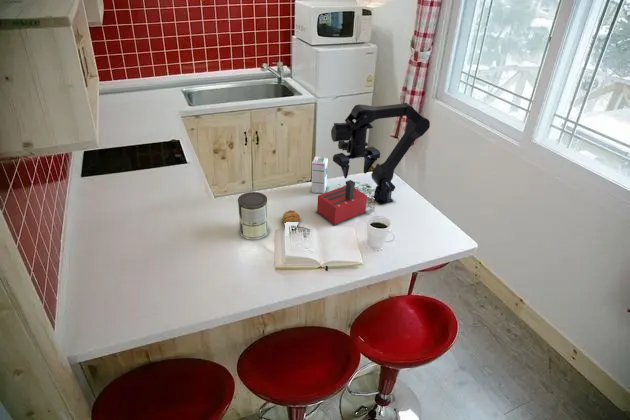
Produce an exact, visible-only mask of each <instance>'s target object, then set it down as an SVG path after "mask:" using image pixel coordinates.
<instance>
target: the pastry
mask: <svg viewBox="0 0 630 420" xmlns="http://www.w3.org/2000/svg"><path fill="white" fill-rule="evenodd" d="M300 217H301V216H300V214H299V213H298V212H297V211H296V210H294V209H290V210H287V211H285V212H284V213H283V214H282V217H281V221H282V224H284V223H286V222H299V223H301V219H300Z"/></svg>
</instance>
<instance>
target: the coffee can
mask: <svg viewBox="0 0 630 420" xmlns="http://www.w3.org/2000/svg"><path fill="white" fill-rule="evenodd" d="M237 205H238V216H239V217H238V218H239V230H240V231H239V232H240V235H241V237H243V238H244V239H246V240H252V241H254V240H256V241H257V240H260V239H262V238H265V237H266V236H267V235H268V234H269V230H268V229H269V225H268V224H269V223H268V197H267V195H266V194H264V193H263V192H262V193H261V192H257V191H250V192H248V191H247V192H244V193H243V194H240V195H239V196H238V197H237Z"/></svg>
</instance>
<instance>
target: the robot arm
mask: <svg viewBox="0 0 630 420" xmlns="http://www.w3.org/2000/svg"><path fill="white" fill-rule="evenodd" d="M399 117H406V118H407V123H406V124H405V125H406V126H405V130H404V134H403V135H401V138H400V139H399V141H398V142H397V144H396V145H395V146H394V148H393V150H392V151H391V152H390V154H389V155H388V156H387V158H386V159H385V161H384V162H383V163H381V164H380V163H376V164H375V167H374V168H373V169H372V170H371V172H372V173H371V175H370V176H371V179H372V181H373V182H374V183H375V185H377V186H375V190H374V194H373V196H372V197H374V198H375V200H374V201H375V202H377V203H378V204H379V205H381V206H382V205H385V204H386V205H387V204H390V203H393V202H394V200H393V198H392V192H394V191H395V189H396V186H395V184H394V183H392V181H393V178H394V175H395V169H396V168H397V167H398V165H399V164H400V163H401V161H402V160H403V158H404V156H406V154H407V153H408V151H409V149H410V148H412V147H411V146H413V144H414V142H416V140H418V139H419V138H421V137H422V136H424V134H426V133H427V132H428V130H429V129H430V127H431V122H430V120H429V119H428V118H427V117H426V116H424V115H422V114H421V113H419V112H418V111H417V110H416V109H415V108H414V107H413V106H412V104H410V103H408V102H403V103H397V104H387V105H378V106H373V105H368V104H355V105H354V106H353V107H352V109H351V111H350V113H349V114H348V116H347V117H346V118H345V119H344V122H333V126H332V127H331V129H330V137H331V140H332V142H333V143H334V142H335V143H336V142H337V147H338V149H339V150H342V151H343V152H340V153H336V154H335V153H334V155H332V162H333V163H335V164H336V165H338V166H339V167H340V169H341V172H342V174H343V177H344V179H347V178H348V176H349V170H350V161H353V160H357V159H361V158H363V159H364V163H363V174H364V175H366V174H367V173H368V172H369V170H370V169H371V167H372V166H373V165H374V163H375V162H376V161H378V159H381V151H380V150H379V149H377V148H376V147H374V146H368V145H369V143H368V142H367V135H368V130H369V129H371V130H372V129H373V128H374V126H373V125H372V124H371V123H373V122H374V121H376V120H382V119H389V118H399ZM344 151H346V153H347V154H345V153H344Z"/></svg>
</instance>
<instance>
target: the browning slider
mask: <svg viewBox="0 0 630 420" xmlns="http://www.w3.org/2000/svg"><path fill="white" fill-rule="evenodd" d="M345 186H346V194H345V198H347V199H348V200H351V199H353V195H354V188H355V186H356V182H355V181H353V180H352V179H350V180H349V179H348V180H346V181H345Z"/></svg>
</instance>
